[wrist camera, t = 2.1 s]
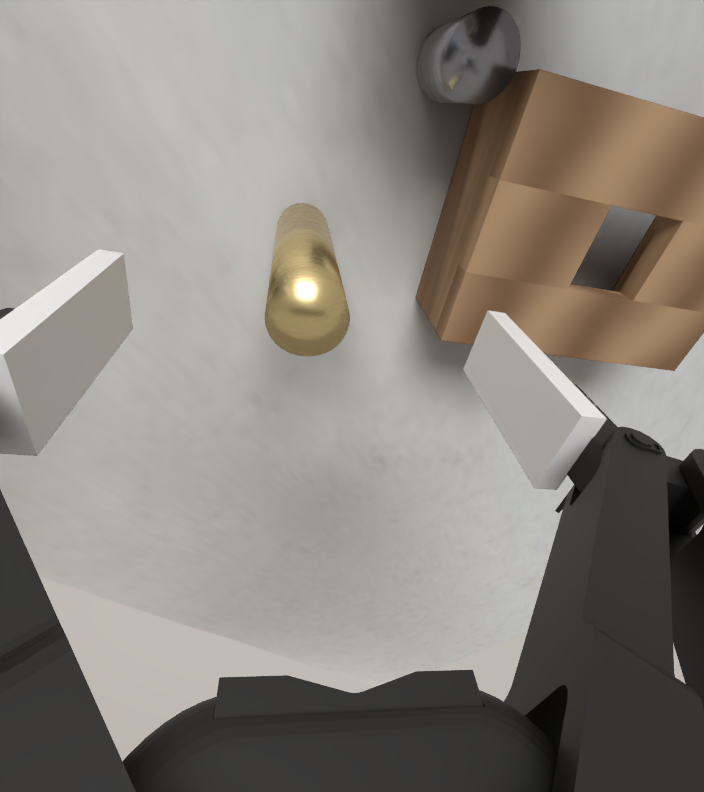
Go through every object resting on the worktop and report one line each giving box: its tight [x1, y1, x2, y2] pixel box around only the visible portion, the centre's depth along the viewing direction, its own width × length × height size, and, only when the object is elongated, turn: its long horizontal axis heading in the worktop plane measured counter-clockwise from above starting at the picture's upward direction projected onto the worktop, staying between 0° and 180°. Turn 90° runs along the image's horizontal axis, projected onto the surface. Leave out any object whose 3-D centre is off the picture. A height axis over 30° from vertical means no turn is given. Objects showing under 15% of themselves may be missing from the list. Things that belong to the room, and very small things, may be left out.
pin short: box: [417, 6, 520, 104], centre depth 18 cm, size 3×3×5 cm
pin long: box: [265, 203, 350, 356], centre depth 19 cm, size 3×3×12 cm
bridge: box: [416, 69, 704, 371], centre depth 23 cm, size 16×12×6 cm
